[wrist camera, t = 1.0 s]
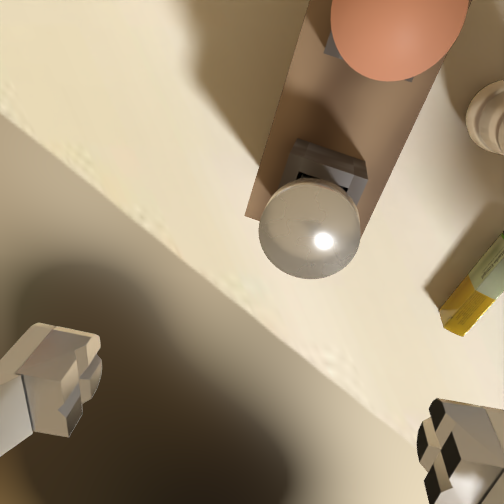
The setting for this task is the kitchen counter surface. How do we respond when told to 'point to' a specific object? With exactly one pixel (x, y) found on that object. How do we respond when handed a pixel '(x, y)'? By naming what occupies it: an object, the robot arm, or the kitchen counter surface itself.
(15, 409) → the robot arm
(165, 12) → the kitchen counter surface
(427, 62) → the orange ball
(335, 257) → the grey plunger
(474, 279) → the medication box
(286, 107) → the stand
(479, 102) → the plastic bottle
